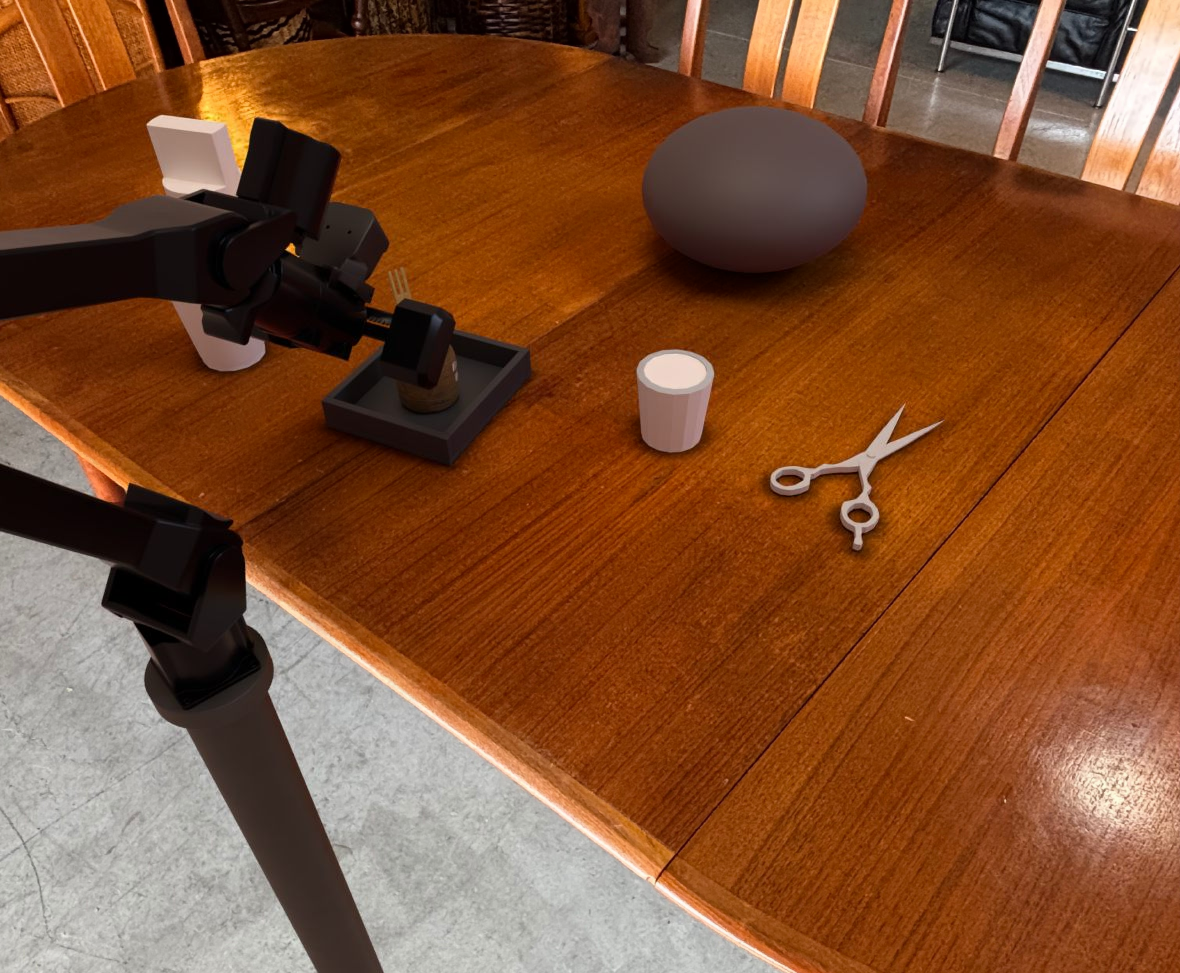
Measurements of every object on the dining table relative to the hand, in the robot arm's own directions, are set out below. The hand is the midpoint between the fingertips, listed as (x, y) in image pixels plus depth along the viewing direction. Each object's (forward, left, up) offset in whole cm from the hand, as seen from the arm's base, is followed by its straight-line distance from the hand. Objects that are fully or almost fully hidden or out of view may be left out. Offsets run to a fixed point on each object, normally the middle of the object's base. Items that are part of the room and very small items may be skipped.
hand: (393, 349), depth 87 cm
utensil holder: (+4, +2, -8) cm, 9 cm away
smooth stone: (+48, +2, -9) cm, 49 cm away
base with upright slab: (+4, +49, -9) cm, 50 cm away
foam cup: (-7, +22, -9) cm, 24 cm away
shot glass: (+18, -17, -9) cm, 26 cm away
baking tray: (+4, +2, -8) cm, 10 cm away
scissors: (+28, -32, -8) cm, 44 cm away
